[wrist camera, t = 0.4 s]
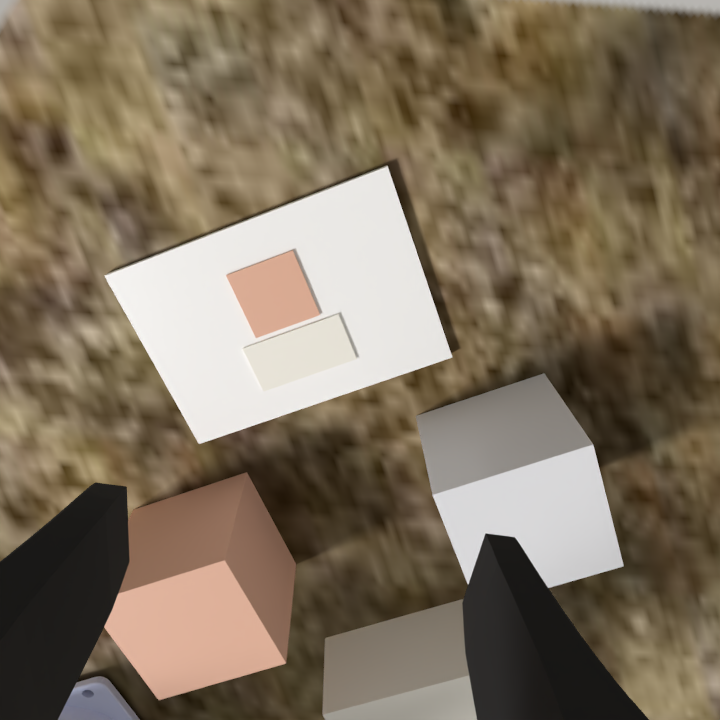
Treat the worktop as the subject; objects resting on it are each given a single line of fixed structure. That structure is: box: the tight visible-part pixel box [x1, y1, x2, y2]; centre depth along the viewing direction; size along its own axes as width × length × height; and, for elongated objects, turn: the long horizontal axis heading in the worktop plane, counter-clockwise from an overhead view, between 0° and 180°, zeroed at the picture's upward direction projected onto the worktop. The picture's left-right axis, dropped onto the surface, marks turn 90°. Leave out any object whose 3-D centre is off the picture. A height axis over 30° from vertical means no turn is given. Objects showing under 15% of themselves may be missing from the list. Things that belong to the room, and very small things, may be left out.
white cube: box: [416, 374, 624, 588], centre depth 22 cm, size 5×5×5 cm
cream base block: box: [322, 599, 477, 720], centre depth 28 cm, size 8×8×4 cm
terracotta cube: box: [104, 472, 296, 700], centre depth 23 cm, size 5×5×5 cm
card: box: [105, 165, 452, 444], centre depth 21 cm, size 10×7×1 cm
